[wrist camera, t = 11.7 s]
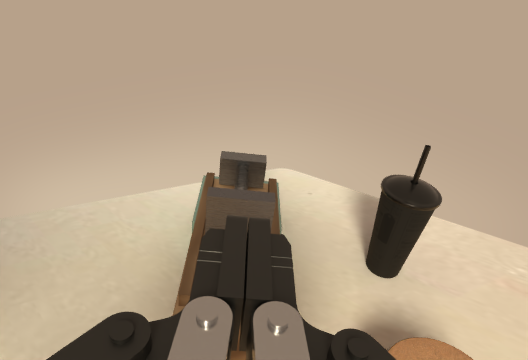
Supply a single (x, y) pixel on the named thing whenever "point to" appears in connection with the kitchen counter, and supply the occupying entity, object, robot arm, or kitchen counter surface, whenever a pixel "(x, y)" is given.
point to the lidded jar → (426, 350)
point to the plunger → (239, 191)
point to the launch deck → (198, 232)
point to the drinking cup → (400, 219)
